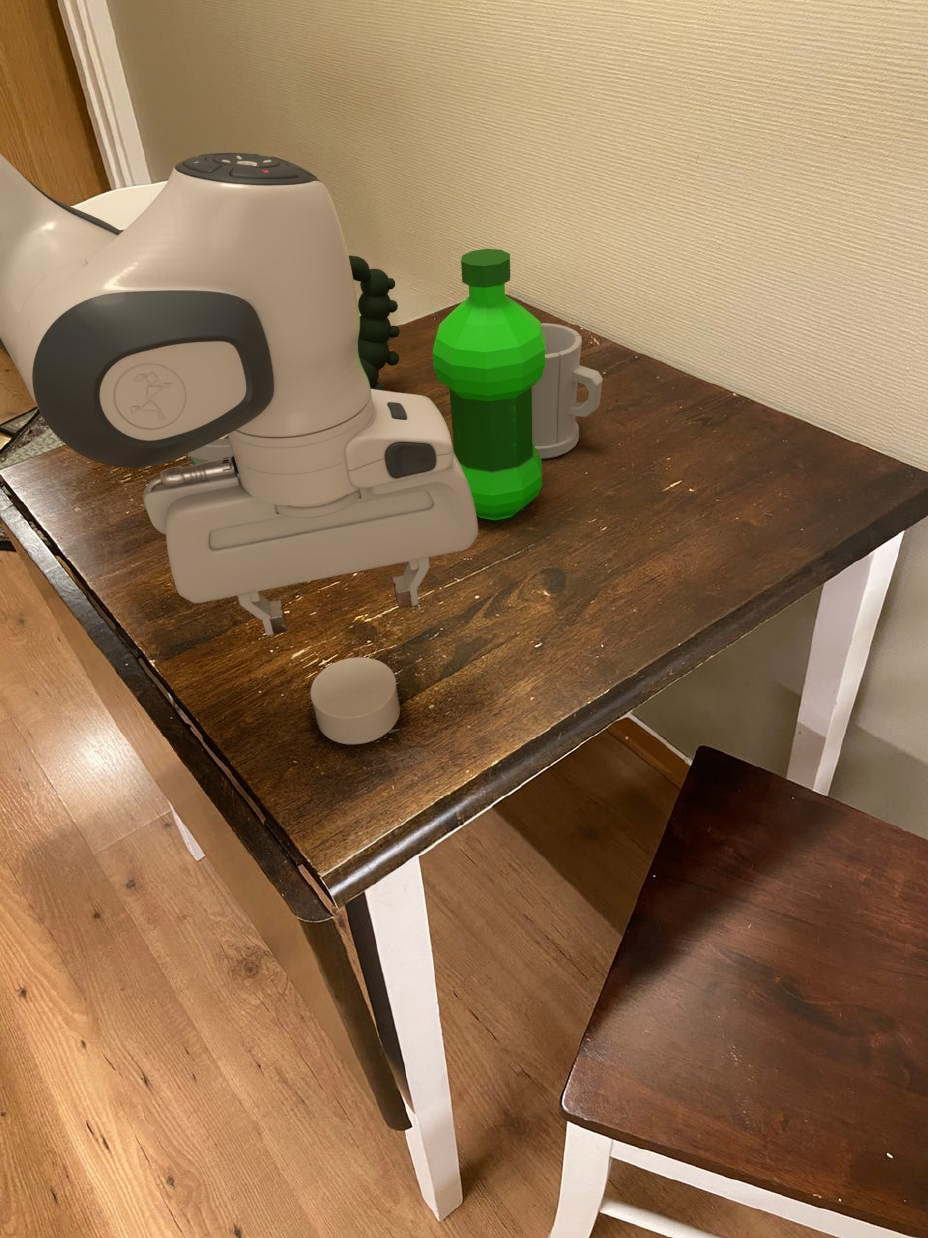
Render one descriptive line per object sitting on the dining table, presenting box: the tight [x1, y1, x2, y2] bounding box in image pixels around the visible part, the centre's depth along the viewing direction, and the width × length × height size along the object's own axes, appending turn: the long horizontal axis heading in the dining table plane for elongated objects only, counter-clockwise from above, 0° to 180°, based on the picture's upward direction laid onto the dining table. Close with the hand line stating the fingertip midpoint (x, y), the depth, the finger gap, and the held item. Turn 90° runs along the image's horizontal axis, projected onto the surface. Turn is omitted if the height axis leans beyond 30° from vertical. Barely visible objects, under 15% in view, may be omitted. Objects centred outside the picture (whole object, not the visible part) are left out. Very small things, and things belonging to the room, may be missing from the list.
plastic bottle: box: [431, 248, 545, 521], centre depth 83 cm, size 10×10×25 cm
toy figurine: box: [348, 255, 401, 391], centre depth 101 cm, size 9×19×25 cm
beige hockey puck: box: [310, 656, 401, 745], centre depth 69 cm, size 7×7×3 cm
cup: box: [532, 322, 604, 460], centre depth 96 cm, size 10×9×12 cm
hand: (342, 615), depth 63 cm, fingers open, 8 cm apart
